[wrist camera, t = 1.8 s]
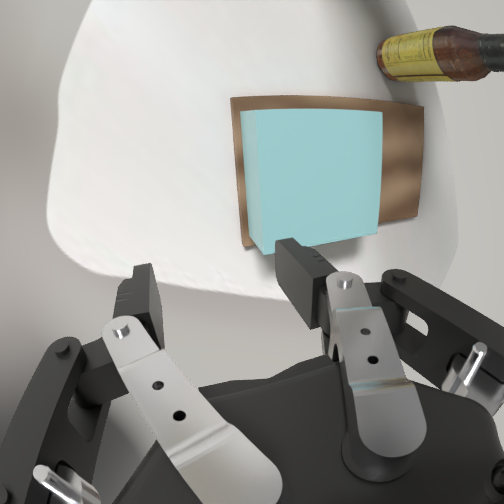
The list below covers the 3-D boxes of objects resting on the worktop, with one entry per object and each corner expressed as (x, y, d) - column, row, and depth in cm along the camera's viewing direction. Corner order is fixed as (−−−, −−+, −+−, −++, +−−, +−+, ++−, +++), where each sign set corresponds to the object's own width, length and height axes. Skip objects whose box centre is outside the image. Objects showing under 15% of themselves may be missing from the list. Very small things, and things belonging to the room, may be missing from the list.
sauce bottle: (413, 58, 30) (540, 61, 13) (399, 91, 32) (534, 106, 14) (381, 27, 27) (514, 9, 10) (364, 61, 29) (509, 53, 12)
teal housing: (240, 111, 27) (255, 110, 22) (354, 110, 30) (382, 112, 25) (249, 235, 33) (263, 255, 28) (352, 218, 35) (376, 233, 31)
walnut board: (230, 98, 27) (233, 97, 26) (418, 106, 33) (425, 106, 32) (242, 243, 34) (245, 248, 33) (412, 214, 40) (418, 217, 39)
